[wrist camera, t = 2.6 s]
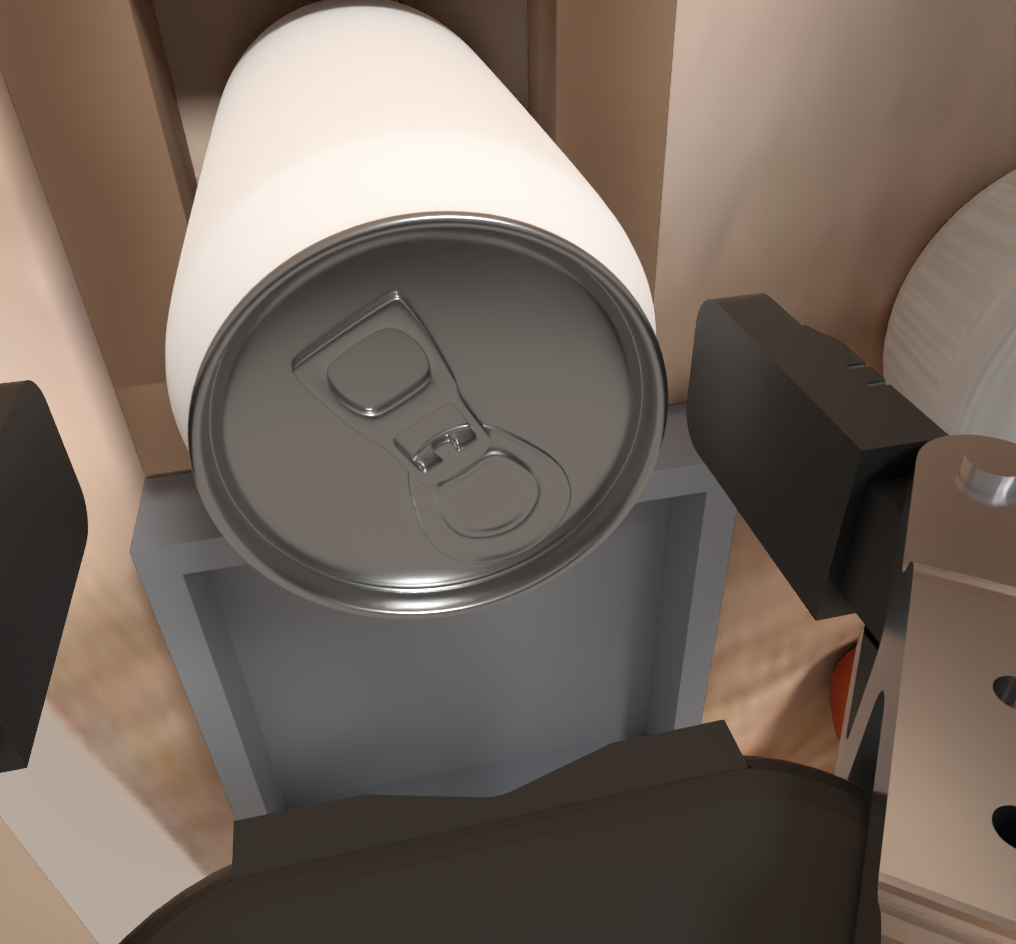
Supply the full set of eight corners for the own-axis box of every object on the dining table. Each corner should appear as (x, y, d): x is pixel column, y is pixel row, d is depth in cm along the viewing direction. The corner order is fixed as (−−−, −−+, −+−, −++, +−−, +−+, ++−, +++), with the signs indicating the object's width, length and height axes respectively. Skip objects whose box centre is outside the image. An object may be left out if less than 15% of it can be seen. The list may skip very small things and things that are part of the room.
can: (341, 333, 22) (383, 708, 13) (149, 114, 18) (0, 414, 9) (554, 186, 21) (777, 476, 11) (397, -81, 17) (538, 23, 8)
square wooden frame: (645, -203, 17) (693, -208, 15) (616, 358, 24) (645, 405, 22) (-40, -180, 15) (-90, -184, 13) (157, 419, 22) (145, 475, 20)
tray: (703, 399, 26) (745, 456, 23) (661, 731, 35) (688, 795, 33) (145, 478, 23) (129, 551, 21) (263, 810, 33) (262, 886, 30)
